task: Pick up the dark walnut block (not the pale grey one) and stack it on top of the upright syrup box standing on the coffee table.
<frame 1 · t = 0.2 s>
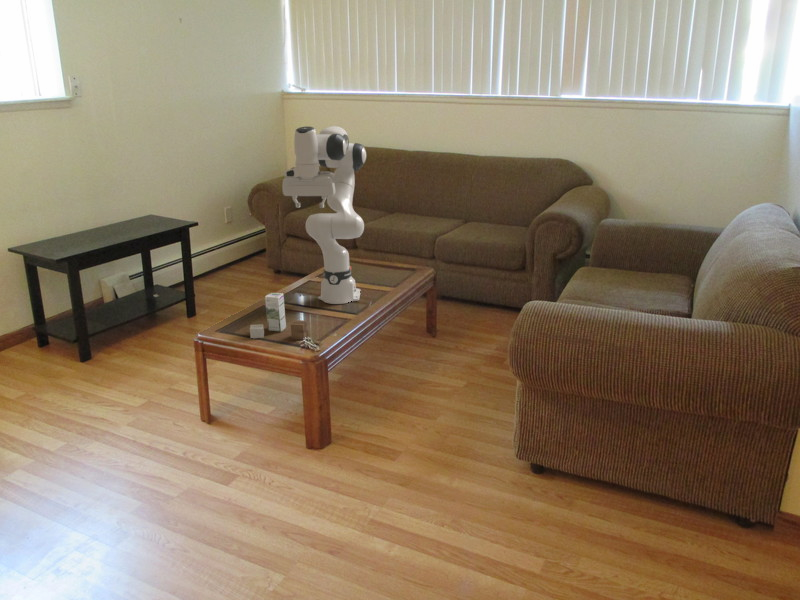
hand: (310, 207, 263), 47 cm above the table, tool pointing down, fingers open, 8 cm apart
syrup box: (277, 329, 272), on the table
grey block: (257, 336, 266), on the table
walnut block: (300, 337, 263), on the table
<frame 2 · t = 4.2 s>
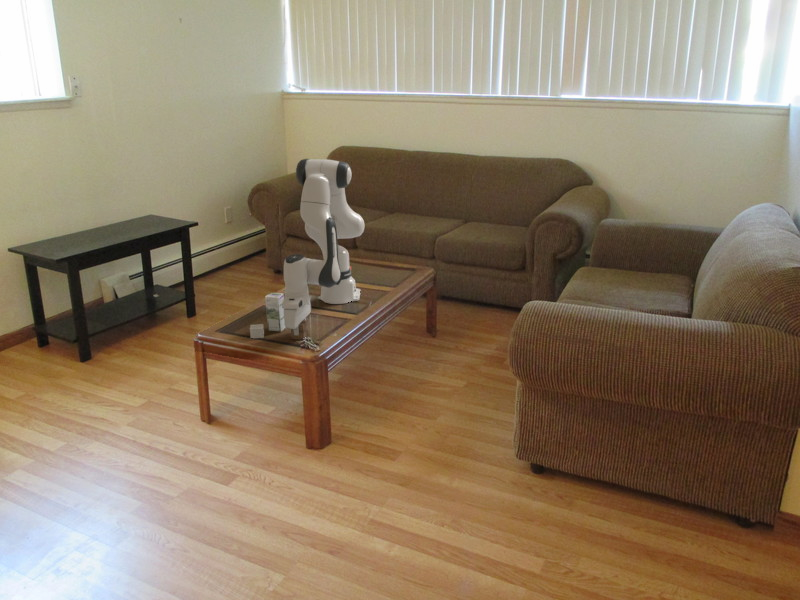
hand: (299, 331, 263), 2 cm above the table, tool pointing down, fingers closed on walnut block, 5 cm apart
walnut block: (300, 337, 263), on the table, touching gripper
everything else where it was.
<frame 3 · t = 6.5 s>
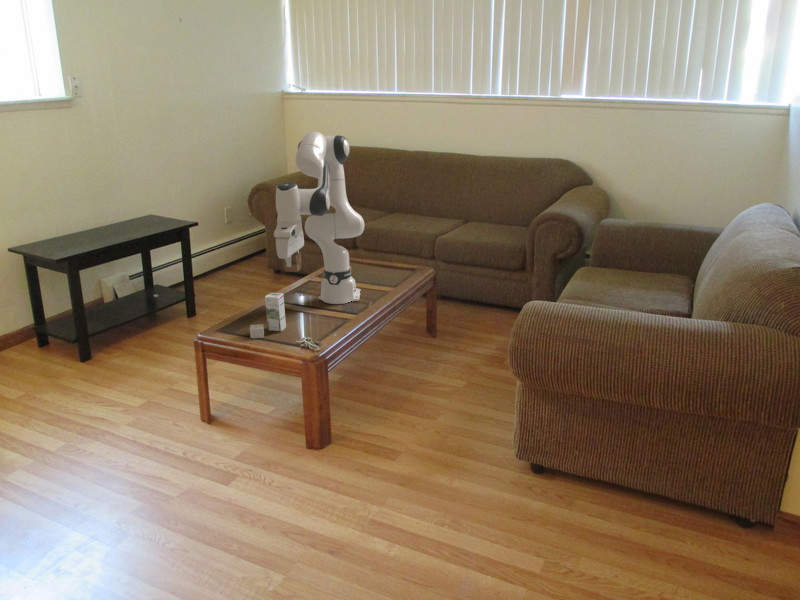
hand: (292, 264, 255), 29 cm above the table, tool pointing down, fingers closed on walnut block, 5 cm apart
walnut block: (293, 269, 256), point 27 cm above the table, touching gripper
everything else where it was.
when the fingers open (18 cm above the table, at t = 9.1 s): walnut block drops 2 cm, resting on syrup box.
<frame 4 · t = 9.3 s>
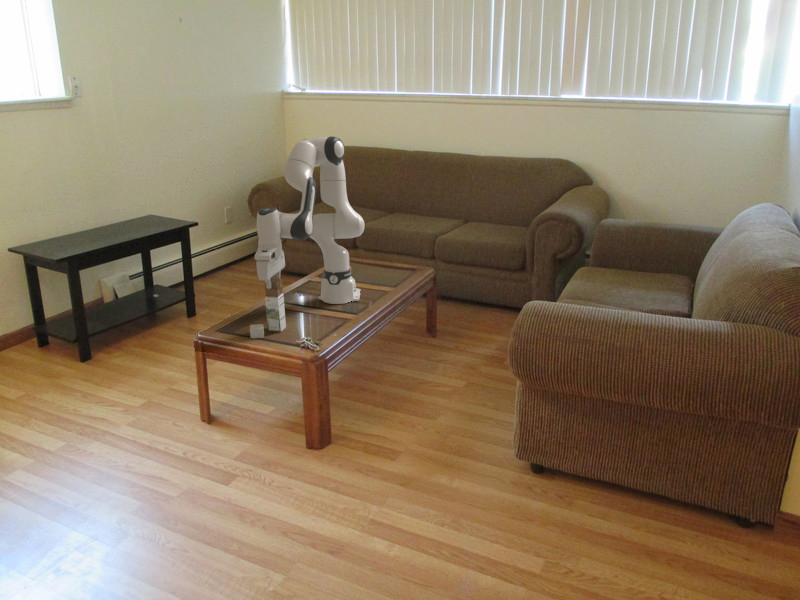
hand: (273, 285, 266), 18 cm above the table, tool pointing down, fingers open, 7 cm apart
syrup box: (277, 329, 272), on the table, touching walnut block
walnut block: (274, 294, 268), point 14 cm above the table, touching syrup box
everything else where it was.
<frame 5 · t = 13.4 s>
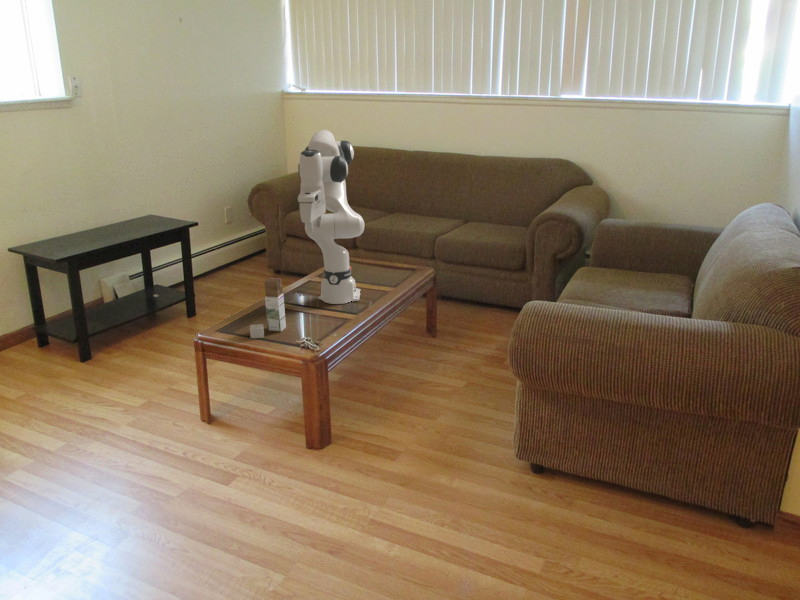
hand: (314, 229, 263), 39 cm above the table, tool pointing down, fingers open, 8 cm apart
nothing on the table moved.
at the end: walnut block 0.1 cm off-centre on the syrup box, point 14.7 cm above the syrup box's base; syrup box tilted 0°; the gripper is holding nothing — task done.
